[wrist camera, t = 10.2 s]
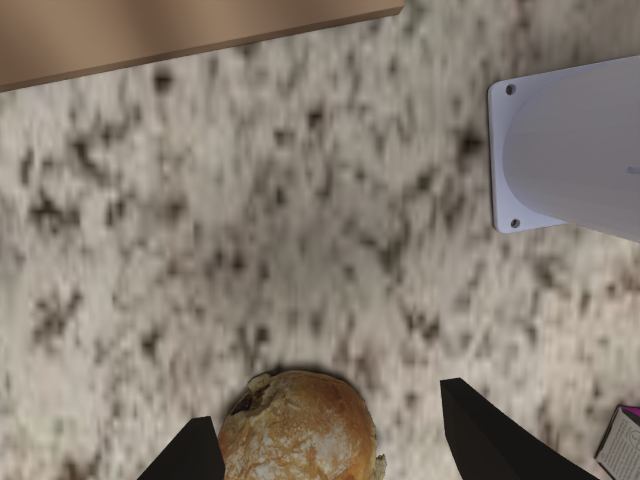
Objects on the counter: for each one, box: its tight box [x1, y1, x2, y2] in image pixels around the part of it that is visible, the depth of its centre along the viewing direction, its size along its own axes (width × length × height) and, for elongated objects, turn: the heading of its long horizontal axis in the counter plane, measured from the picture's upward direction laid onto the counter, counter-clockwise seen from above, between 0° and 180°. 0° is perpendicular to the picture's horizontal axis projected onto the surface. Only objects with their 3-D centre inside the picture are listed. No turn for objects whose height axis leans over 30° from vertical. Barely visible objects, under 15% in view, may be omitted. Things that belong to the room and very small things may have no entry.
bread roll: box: [217, 370, 387, 480], centre depth 21 cm, size 10×10×8 cm
